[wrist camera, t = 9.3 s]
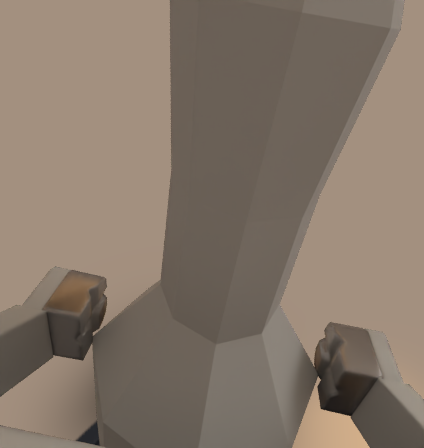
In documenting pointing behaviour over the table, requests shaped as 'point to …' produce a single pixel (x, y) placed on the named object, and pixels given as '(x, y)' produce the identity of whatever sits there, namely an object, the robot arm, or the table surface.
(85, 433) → the table surface
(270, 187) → the low poly bottle
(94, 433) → the table surface
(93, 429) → the table surface
